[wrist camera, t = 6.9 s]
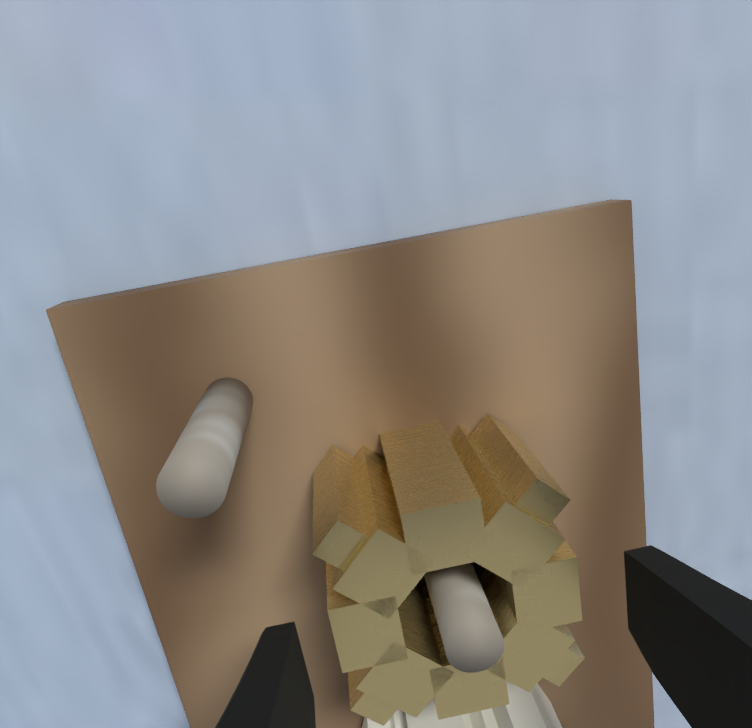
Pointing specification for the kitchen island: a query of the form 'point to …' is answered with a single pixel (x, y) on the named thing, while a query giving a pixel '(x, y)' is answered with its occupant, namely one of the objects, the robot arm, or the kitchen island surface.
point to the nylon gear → (485, 714)
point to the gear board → (367, 435)
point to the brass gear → (443, 565)
